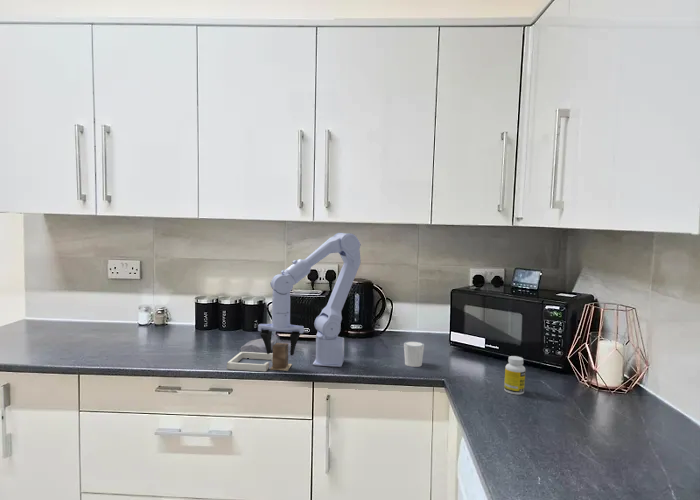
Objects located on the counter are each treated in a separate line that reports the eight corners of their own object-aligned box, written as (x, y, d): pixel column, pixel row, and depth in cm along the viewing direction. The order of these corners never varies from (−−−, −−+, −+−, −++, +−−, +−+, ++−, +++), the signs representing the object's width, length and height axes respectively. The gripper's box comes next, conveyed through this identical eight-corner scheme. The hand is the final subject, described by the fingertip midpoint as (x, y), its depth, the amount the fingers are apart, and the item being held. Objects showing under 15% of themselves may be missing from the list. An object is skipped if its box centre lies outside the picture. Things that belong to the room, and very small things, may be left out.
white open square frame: (276, 359, 153) (276, 353, 153) (265, 371, 141) (265, 365, 140) (240, 357, 154) (240, 351, 154) (226, 369, 142) (226, 362, 142)
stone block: (238, 360, 157) (265, 356, 156) (236, 346, 157) (263, 343, 156) (252, 352, 169) (277, 348, 167) (249, 339, 169) (274, 336, 167)
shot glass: (411, 359, 156) (412, 340, 156) (427, 364, 152) (428, 344, 151) (399, 363, 152) (399, 343, 151) (415, 368, 147) (416, 347, 146)
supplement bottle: (522, 396, 125) (523, 362, 124) (502, 392, 128) (503, 358, 127) (526, 390, 130) (527, 357, 129) (506, 386, 132) (508, 354, 132)
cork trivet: (291, 365, 147) (291, 364, 147) (287, 370, 142) (287, 369, 142) (275, 364, 148) (275, 363, 148) (270, 369, 142) (270, 368, 142)
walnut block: (288, 364, 147) (288, 343, 146) (284, 368, 143) (285, 346, 142) (276, 363, 147) (276, 342, 147) (272, 367, 143) (272, 346, 143)
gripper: (306, 310, 147) (305, 351, 148) (262, 308, 149) (262, 349, 149) (301, 315, 140) (300, 357, 141) (256, 312, 142) (255, 355, 142)
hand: (280, 353), depth 145 cm, fingers open, 7 cm apart
